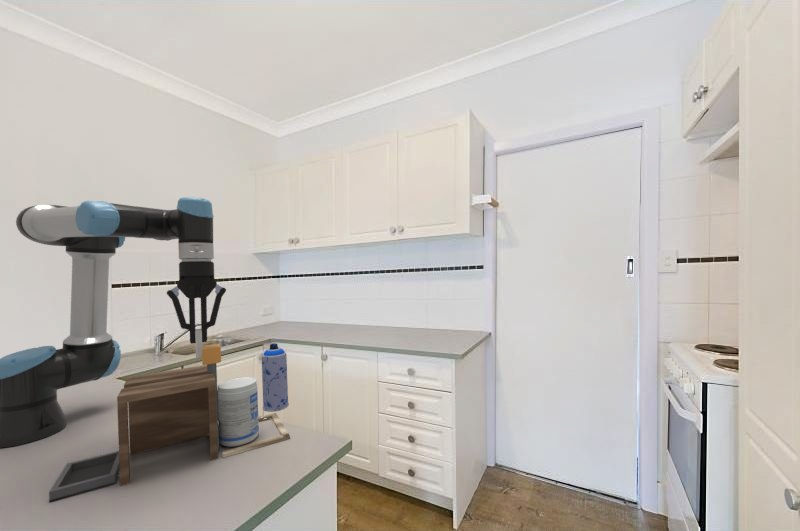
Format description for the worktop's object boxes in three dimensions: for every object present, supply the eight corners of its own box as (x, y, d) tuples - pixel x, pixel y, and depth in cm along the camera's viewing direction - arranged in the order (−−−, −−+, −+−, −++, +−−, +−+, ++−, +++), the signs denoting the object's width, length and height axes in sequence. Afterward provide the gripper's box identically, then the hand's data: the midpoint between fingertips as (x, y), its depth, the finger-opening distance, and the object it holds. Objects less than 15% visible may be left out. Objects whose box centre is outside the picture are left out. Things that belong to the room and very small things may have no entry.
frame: (217, 429, 96) (217, 426, 96) (275, 415, 104) (275, 412, 104) (222, 457, 81) (222, 454, 81) (290, 438, 89) (289, 435, 89)
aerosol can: (268, 402, 115) (266, 341, 115) (292, 401, 115) (290, 341, 115) (258, 412, 107) (256, 347, 107) (283, 411, 107) (281, 346, 107)
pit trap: (67, 472, 78) (67, 463, 78) (124, 457, 83) (123, 449, 83) (49, 502, 67) (49, 492, 67) (115, 484, 73) (115, 474, 73)
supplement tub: (261, 441, 88) (259, 384, 88) (219, 452, 84) (217, 391, 84) (256, 426, 97) (254, 374, 97) (217, 436, 92) (216, 380, 92)
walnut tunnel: (130, 452, 86) (128, 377, 85) (213, 431, 95) (211, 364, 95) (120, 486, 72) (117, 396, 72) (217, 458, 81) (215, 379, 81)
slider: (204, 435, 92) (201, 342, 92) (221, 430, 94) (218, 340, 94) (206, 454, 82) (202, 351, 82) (225, 449, 84) (221, 348, 84)
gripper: (164, 260, 80) (166, 363, 79) (227, 260, 86) (229, 354, 86) (166, 261, 86) (168, 356, 86) (224, 260, 93) (226, 349, 93)
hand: (199, 355), depth 86 cm, fingers closed
